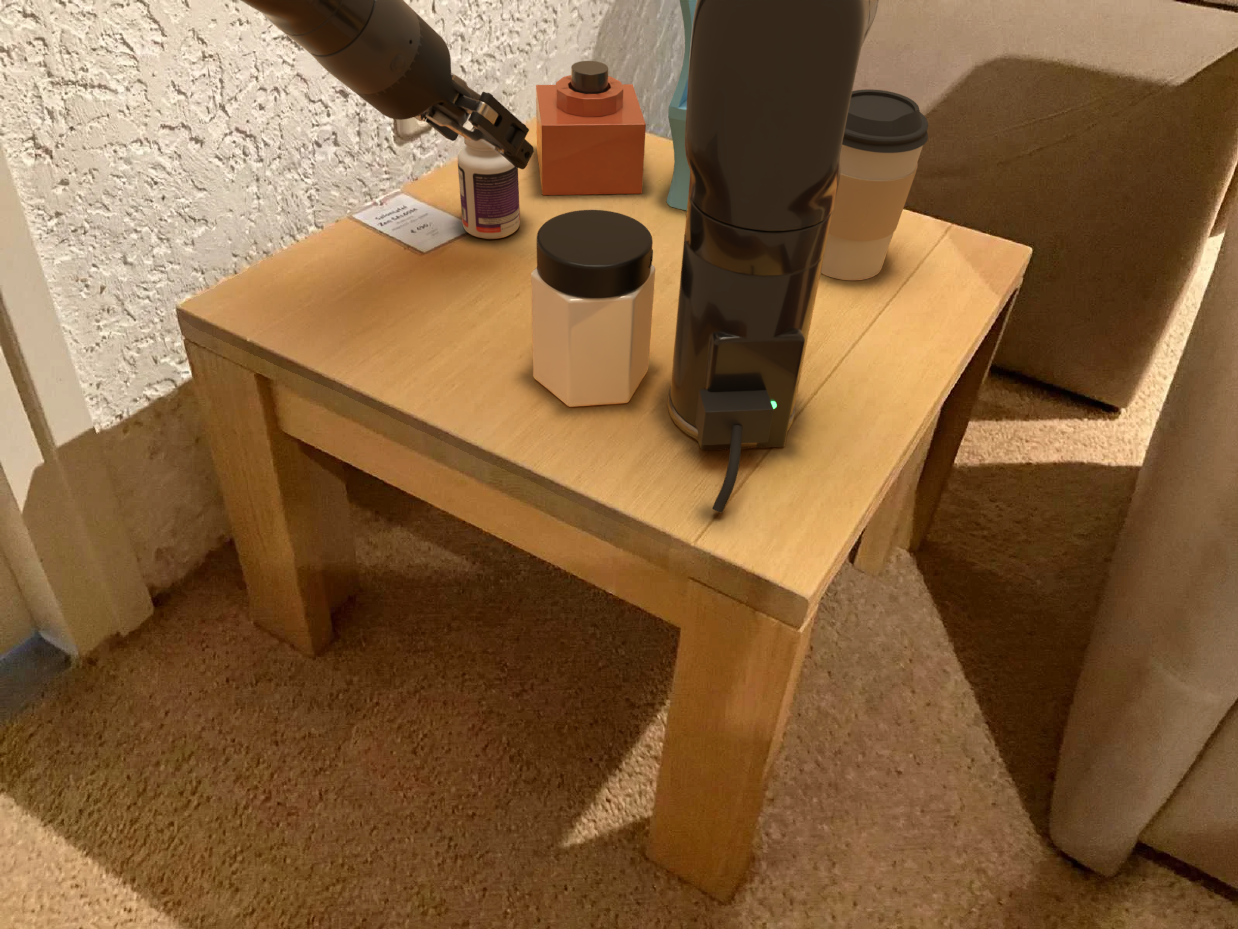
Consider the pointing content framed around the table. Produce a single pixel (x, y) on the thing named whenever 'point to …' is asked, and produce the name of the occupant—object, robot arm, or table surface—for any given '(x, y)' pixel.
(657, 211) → the table surface
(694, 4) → the vase
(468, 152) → the pill bottle
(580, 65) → the box button
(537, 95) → the orange box with knob
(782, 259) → the robot arm
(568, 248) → the jar
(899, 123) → the coffee cup
